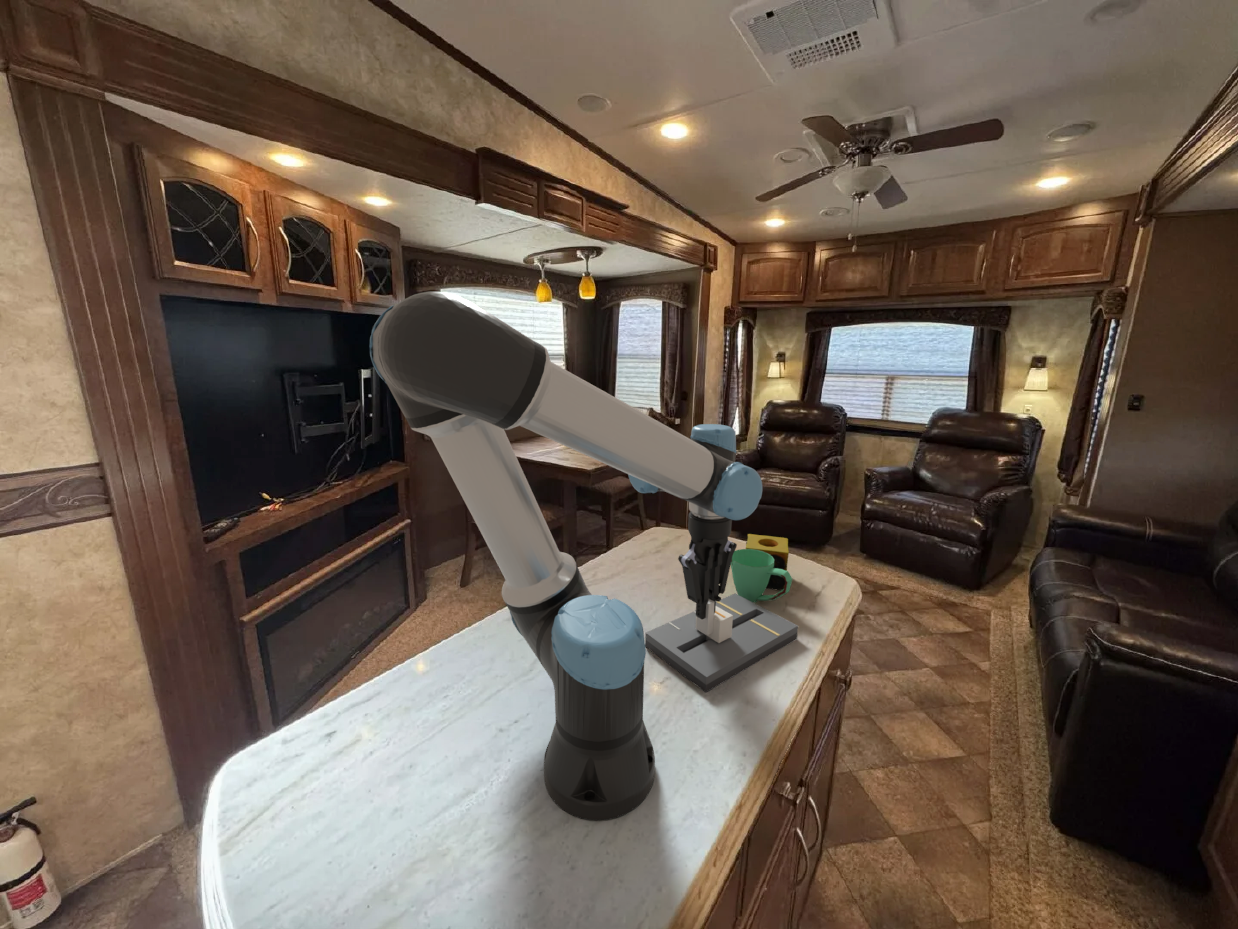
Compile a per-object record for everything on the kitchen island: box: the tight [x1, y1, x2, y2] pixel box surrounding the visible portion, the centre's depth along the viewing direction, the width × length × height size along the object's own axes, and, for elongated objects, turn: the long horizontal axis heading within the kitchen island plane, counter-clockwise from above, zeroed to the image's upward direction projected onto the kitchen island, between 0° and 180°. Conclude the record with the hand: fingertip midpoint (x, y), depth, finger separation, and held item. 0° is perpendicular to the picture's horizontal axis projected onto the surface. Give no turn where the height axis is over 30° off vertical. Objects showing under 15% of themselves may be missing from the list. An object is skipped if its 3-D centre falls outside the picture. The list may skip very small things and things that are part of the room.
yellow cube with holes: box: [745, 533, 790, 591], centre depth 120 cm, size 10×10×10 cm
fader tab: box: [696, 606, 733, 643], centre depth 92 cm, size 4×6×6 cm, turn 37°
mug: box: [730, 548, 793, 603], centre depth 110 cm, size 15×10×10 cm
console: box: [644, 593, 799, 693], centre depth 95 cm, size 26×16×3 cm, turn 127°
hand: (704, 630), depth 91 cm, fingers closed
